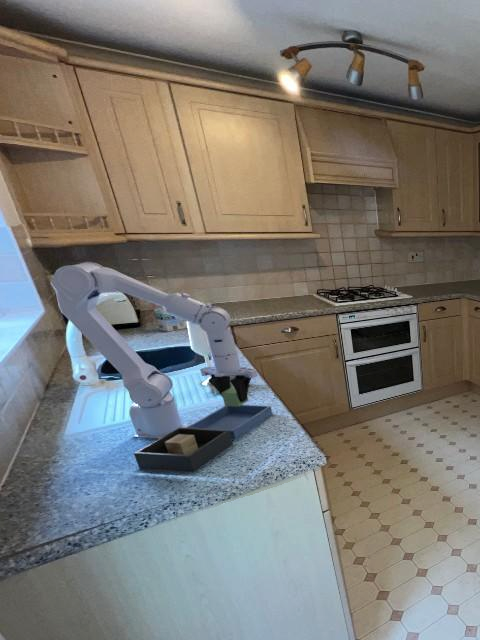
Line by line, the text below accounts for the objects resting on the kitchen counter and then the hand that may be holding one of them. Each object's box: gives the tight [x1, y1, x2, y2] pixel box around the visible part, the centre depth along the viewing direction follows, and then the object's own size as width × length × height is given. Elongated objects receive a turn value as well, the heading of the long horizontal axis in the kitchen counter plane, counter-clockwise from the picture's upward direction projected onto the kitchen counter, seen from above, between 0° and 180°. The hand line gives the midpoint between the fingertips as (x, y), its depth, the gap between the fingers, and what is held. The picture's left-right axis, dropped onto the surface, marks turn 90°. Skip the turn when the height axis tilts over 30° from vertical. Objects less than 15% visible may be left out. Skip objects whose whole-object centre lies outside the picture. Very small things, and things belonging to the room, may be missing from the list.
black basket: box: [133, 428, 234, 473], centre depth 96 cm, size 13×12×4 cm
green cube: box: [221, 387, 249, 407], centre depth 112 cm, size 4×4×4 cm
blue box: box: [187, 404, 273, 441], centre depth 111 cm, size 13×15×3 cm
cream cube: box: [165, 434, 198, 455], centre depth 97 cm, size 4×4×4 cm
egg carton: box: [207, 376, 236, 395], centre depth 135 cm, size 11×8×4 cm
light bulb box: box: [153, 307, 188, 333], centre depth 205 cm, size 11×7×11 cm, turn 159°
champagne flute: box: [187, 321, 212, 387], centre depth 137 cm, size 7×7×24 cm
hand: (236, 400), depth 112 cm, fingers closed on green cube, 4 cm apart
